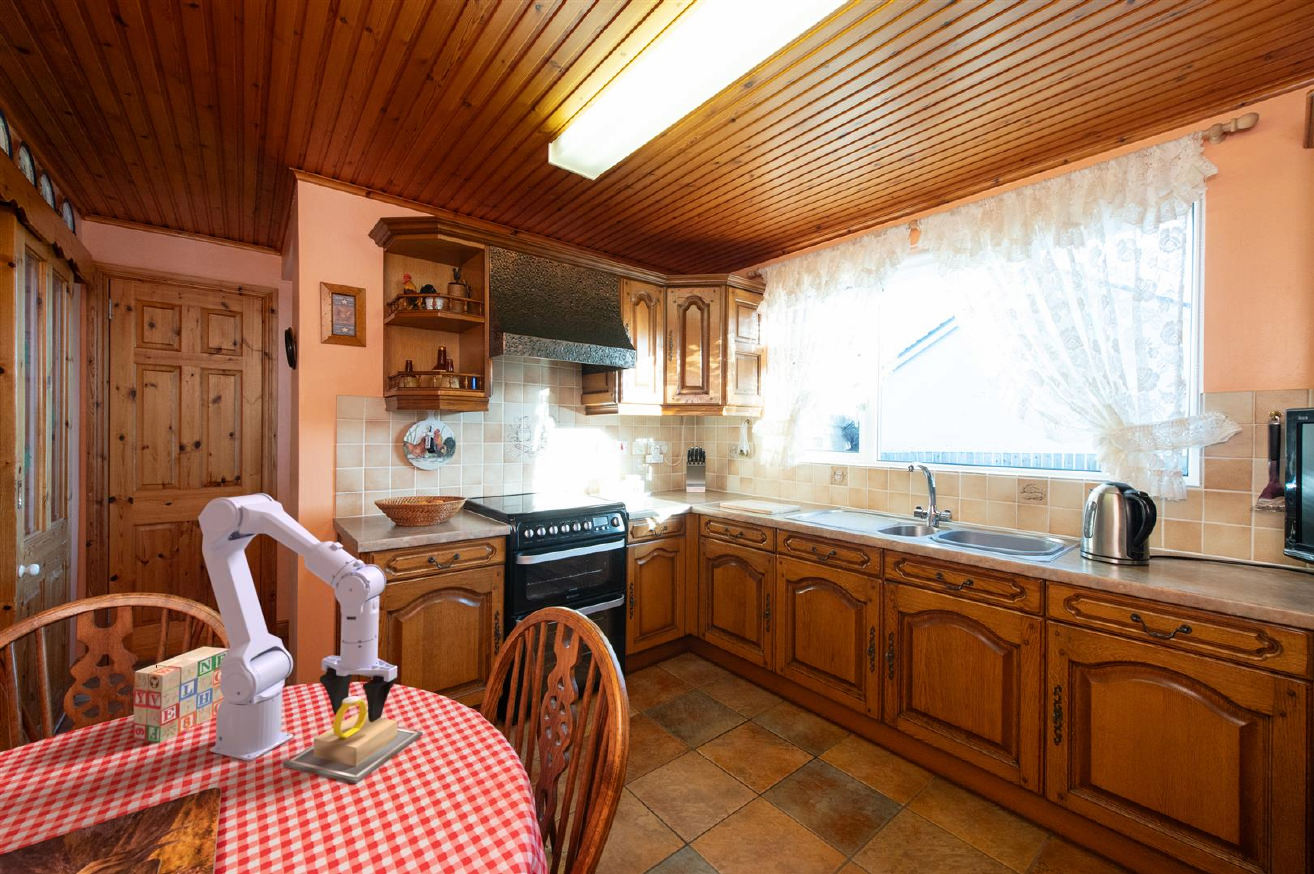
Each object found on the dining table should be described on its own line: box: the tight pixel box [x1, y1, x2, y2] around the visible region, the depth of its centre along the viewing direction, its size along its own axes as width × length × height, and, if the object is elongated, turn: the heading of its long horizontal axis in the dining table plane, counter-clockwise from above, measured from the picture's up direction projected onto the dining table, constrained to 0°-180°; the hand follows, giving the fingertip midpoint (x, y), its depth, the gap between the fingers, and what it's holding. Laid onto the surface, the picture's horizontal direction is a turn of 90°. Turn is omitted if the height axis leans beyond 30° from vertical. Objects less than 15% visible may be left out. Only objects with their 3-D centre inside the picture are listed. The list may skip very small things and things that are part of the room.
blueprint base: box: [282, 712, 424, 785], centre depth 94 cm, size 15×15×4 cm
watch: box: [332, 695, 368, 739], centre depth 92 cm, size 6×3×6 cm, turn 166°
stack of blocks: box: [132, 646, 257, 744], centre depth 106 cm, size 21×6×12 cm, turn 169°
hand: (357, 715), depth 94 cm, fingers open, 7 cm apart
